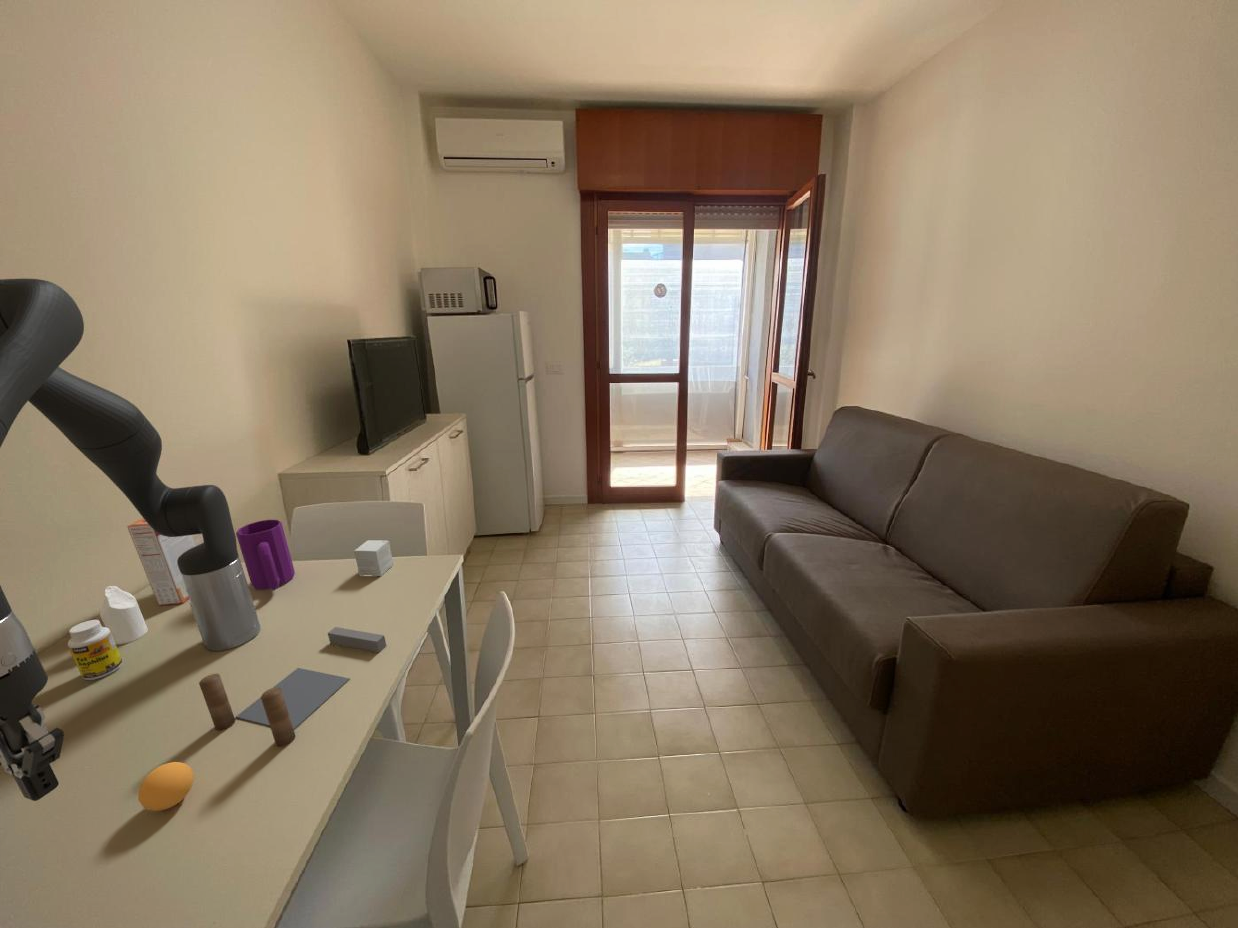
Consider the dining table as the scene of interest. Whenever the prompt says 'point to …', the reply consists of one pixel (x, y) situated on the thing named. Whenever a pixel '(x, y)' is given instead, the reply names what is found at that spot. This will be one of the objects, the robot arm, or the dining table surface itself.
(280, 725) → the right post
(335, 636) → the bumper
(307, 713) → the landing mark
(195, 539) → the cracker box
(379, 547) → the product box
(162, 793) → the ball
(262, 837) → the dining table surface
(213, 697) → the left post
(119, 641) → the white tapered piece
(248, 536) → the mug
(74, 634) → the supplement bottle
